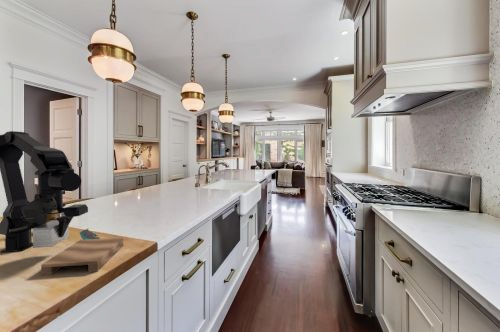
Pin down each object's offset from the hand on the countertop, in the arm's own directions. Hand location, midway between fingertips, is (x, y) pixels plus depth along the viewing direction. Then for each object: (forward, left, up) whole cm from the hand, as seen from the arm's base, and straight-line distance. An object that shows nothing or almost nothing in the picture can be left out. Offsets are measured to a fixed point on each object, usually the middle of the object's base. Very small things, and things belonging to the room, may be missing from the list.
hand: (52, 237), depth 71 cm
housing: (0, 0, -2) cm, 2 cm away
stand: (+3, +12, -6) cm, 14 cm away
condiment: (-26, -18, -7) cm, 32 cm away
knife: (-18, +2, -7) cm, 19 cm away
